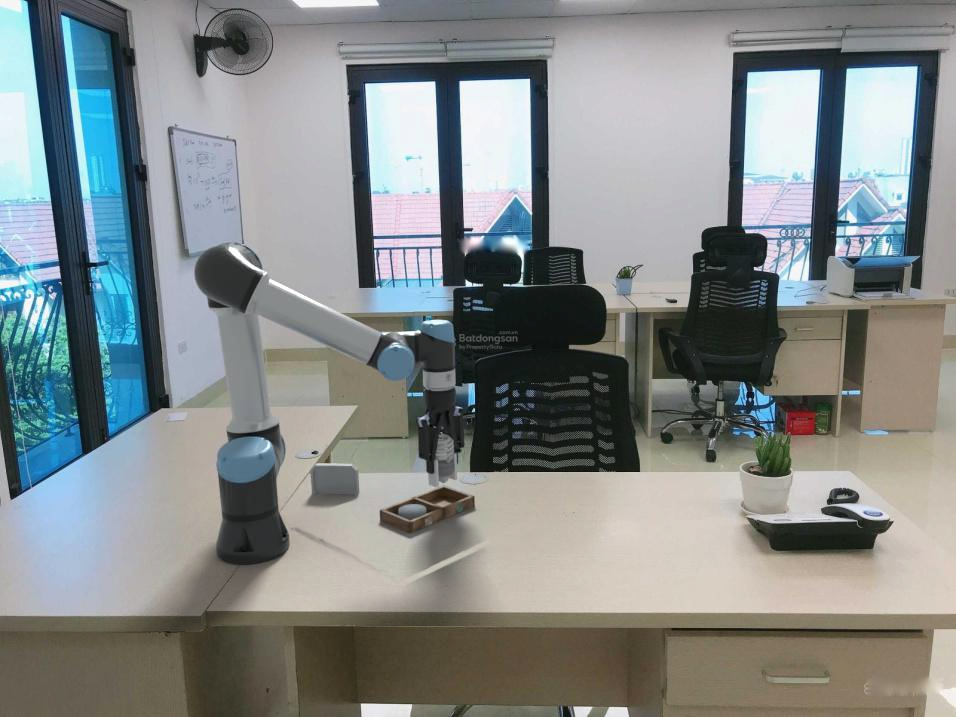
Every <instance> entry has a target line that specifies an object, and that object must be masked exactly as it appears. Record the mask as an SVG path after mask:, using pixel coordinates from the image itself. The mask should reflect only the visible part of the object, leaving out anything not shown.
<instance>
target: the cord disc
mask: <svg viewBox="0 0 956 717" xmlns="http://www.w3.org/2000/svg"><path fill="white" fill-rule="evenodd" d="M398 514H399V516H401V517H403V518H406V519H408V520H413V519H415V518H418V517H420V516H422V515H425V514H426V507H425V506H423V505H419V504H409V505H405V506H402V507H400V508H399V510H398Z"/></svg>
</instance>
